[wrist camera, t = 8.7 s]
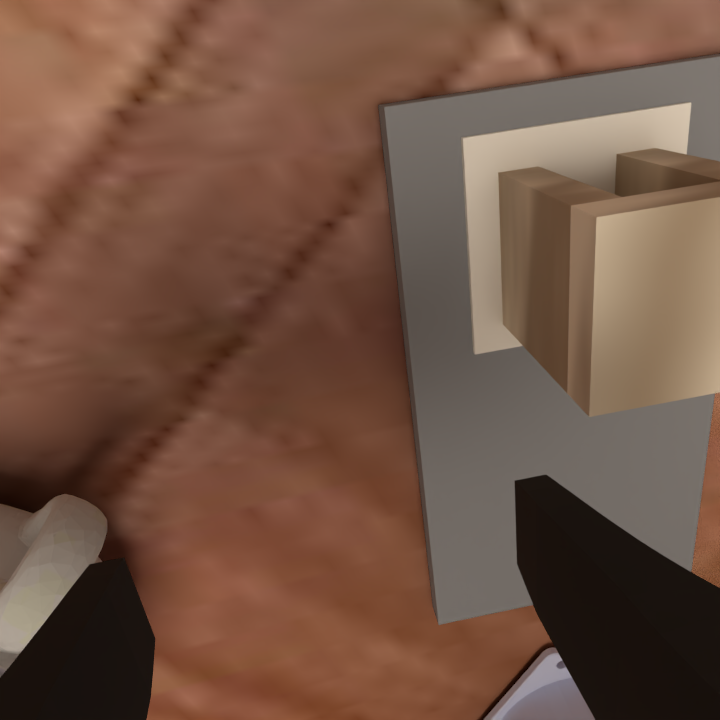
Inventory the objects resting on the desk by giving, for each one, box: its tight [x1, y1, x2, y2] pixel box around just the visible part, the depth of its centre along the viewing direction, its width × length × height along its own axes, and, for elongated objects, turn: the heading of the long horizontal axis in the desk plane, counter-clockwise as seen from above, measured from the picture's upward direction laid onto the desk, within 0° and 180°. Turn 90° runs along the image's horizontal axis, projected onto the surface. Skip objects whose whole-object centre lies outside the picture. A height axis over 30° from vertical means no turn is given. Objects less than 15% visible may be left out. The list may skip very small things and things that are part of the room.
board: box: [378, 54, 720, 625], centre depth 22 cm, size 20×11×1 cm, turn 7°
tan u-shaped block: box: [498, 148, 720, 417], centre depth 17 cm, size 5×5×6 cm
